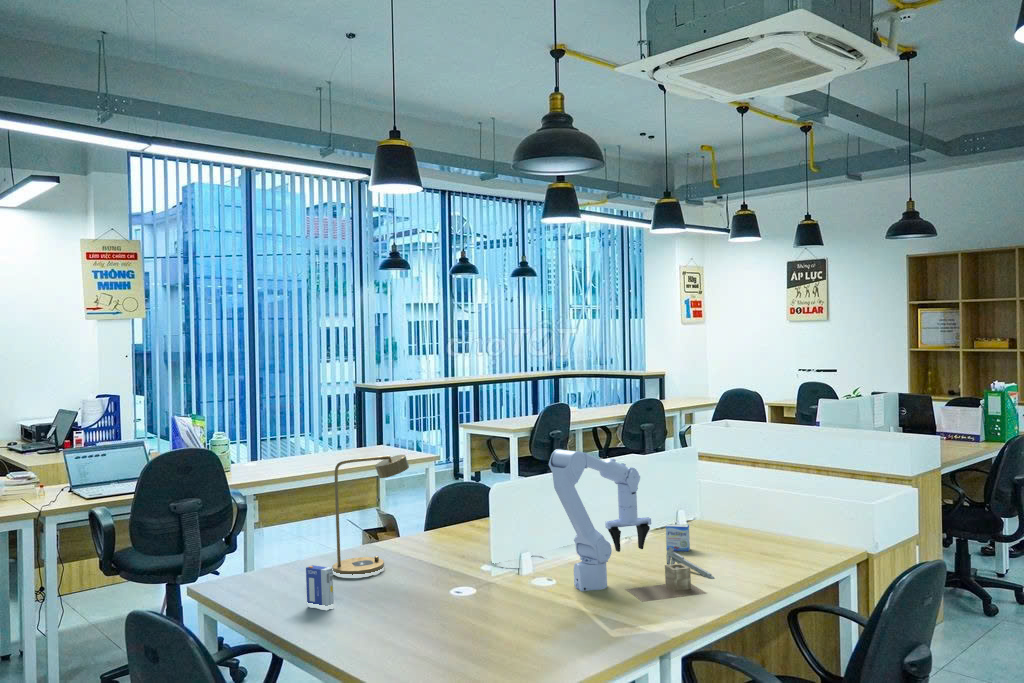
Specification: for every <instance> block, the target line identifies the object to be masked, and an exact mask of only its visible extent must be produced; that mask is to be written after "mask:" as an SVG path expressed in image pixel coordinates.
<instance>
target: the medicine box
mask: <svg viewBox="0 0 1024 683" xmlns="http://www.w3.org/2000/svg"><path fill="white" fill-rule="evenodd" d="M665 544H666V545H665V548H666V549H665V550H666V551H667V550H669V547H672V549H673V548H674V551H673V552H689V551H690V549H691V541H690V524H677V523H675V524H674V523H673V524H672V523H666V525H665Z"/></svg>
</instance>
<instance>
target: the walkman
mask: <svg viewBox="0 0 1024 683" xmlns="http://www.w3.org/2000/svg"><path fill="white" fill-rule="evenodd" d="M333 577H334V576H333V570H332V567H330V566H329V567H328V566H327V567H326V566H321V565H313V564H312V565H309V566H306V567H305V579H306V580H305V582H306V603H307V602H308V603H313V604H319V605H325V606H328V605H331V604H334V603H335V602H334V581H333ZM334 605H335V604H334Z"/></svg>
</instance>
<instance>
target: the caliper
mask: <svg viewBox="0 0 1024 683" xmlns="http://www.w3.org/2000/svg"><path fill="white" fill-rule="evenodd" d="M665 557H666V565H671V564H679V563H682V564H684V565H686V566H688V567H689V568H690V570H692V571H695V572H696V573H698V574H699V575H702V576H703V577H705V578H708V579H712V580H713V579H715V576H713V574H712V573H711V572H709V571H707V570H705V569H704V568H703V567H701V566H699V565H697V564H694V563H693V562H691V561H689V560H687V559H685V557H684V556H682V555H680V553H677V551H674V548H673V549H672V547H669V550H666V556H665Z"/></svg>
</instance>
